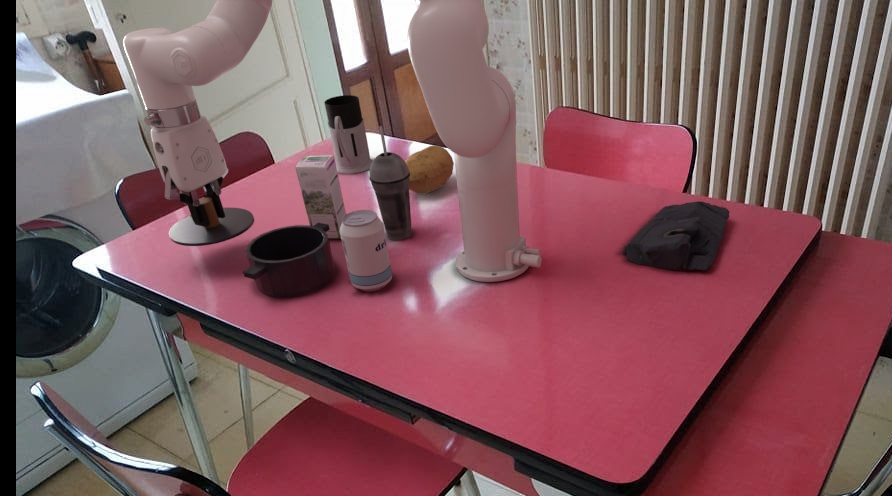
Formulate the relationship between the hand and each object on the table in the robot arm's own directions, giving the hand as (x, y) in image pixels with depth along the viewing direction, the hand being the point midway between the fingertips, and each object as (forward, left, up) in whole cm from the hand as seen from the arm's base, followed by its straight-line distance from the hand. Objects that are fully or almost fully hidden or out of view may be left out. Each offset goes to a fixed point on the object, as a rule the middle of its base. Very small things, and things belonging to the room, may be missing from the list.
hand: (210, 220), depth 120 cm
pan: (-17, 0, -8) cm, 19 cm away
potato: (-19, -40, -8) cm, 45 cm away
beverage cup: (-25, -20, -8) cm, 33 cm away
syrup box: (-12, -16, -8) cm, 22 cm away
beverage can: (-31, -3, -8) cm, 32 cm away
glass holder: (+4, -44, -8) cm, 45 cm away
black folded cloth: (-74, -35, -8) cm, 82 cm away
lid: (0, 0, -1) cm, 1 cm away
